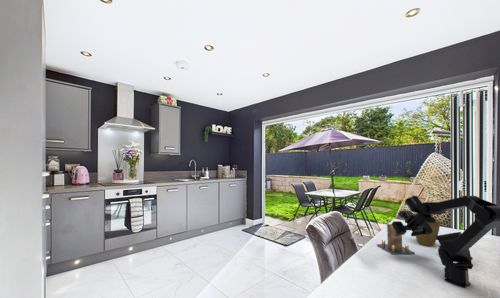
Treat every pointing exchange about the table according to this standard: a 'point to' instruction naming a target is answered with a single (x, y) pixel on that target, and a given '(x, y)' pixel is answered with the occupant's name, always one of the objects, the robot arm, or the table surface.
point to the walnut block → (393, 238)
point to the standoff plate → (396, 252)
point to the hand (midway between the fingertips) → (403, 235)
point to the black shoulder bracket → (451, 238)
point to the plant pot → (430, 235)
